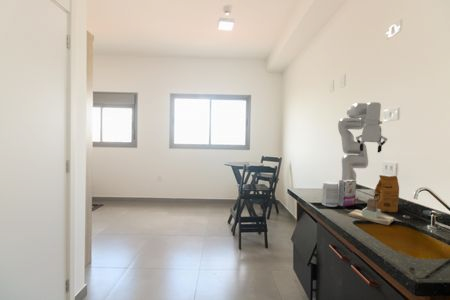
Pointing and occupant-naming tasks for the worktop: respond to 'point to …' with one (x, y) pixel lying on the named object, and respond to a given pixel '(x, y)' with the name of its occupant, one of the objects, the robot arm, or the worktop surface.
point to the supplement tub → (330, 194)
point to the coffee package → (387, 194)
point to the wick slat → (371, 204)
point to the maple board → (381, 219)
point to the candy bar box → (347, 192)
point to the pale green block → (371, 213)
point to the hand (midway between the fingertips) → (370, 151)
